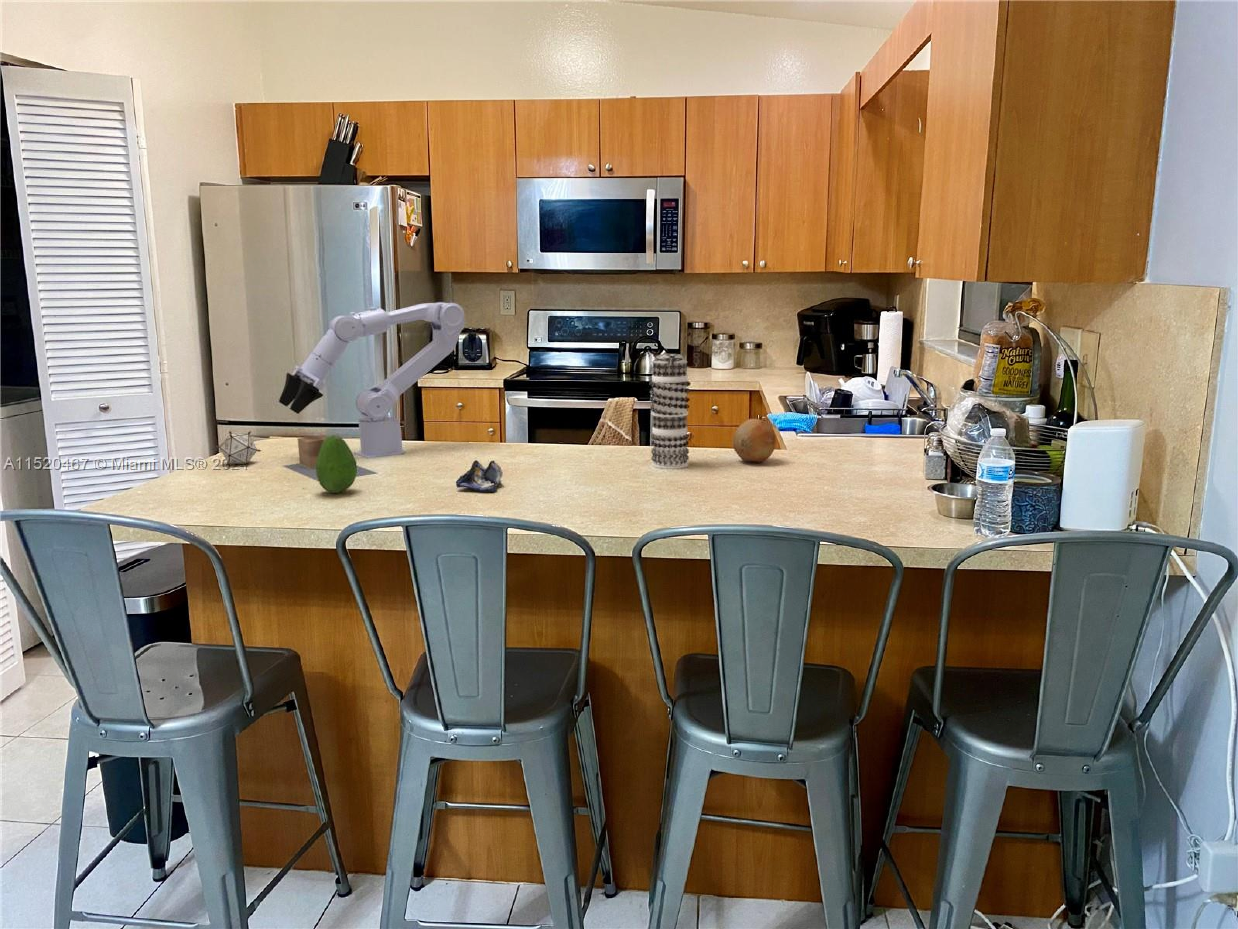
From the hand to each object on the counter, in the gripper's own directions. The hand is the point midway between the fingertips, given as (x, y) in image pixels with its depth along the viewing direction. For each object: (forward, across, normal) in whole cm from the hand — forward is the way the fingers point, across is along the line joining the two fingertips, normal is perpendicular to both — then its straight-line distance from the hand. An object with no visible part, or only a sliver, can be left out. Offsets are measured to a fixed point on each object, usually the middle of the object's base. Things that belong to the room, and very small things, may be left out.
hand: (288, 407), depth 210 cm
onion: (-47, +71, +68) cm, 108 cm away
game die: (+17, -6, +1) cm, 18 cm away
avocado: (+9, +36, +4) cm, 37 cm away
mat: (+7, +14, +10) cm, 19 cm away
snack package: (-8, +51, +23) cm, 56 cm away
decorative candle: (-36, +60, +55) cm, 89 cm away
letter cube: (+7, +8, +10) cm, 15 cm away
